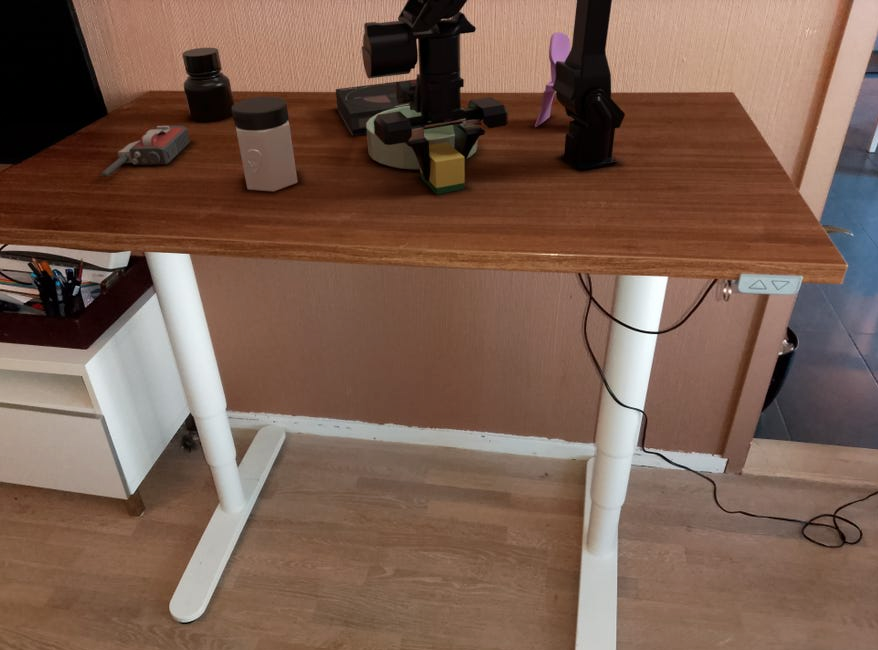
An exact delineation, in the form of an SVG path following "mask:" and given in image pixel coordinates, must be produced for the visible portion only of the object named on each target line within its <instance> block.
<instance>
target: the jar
mask: <svg viewBox="0 0 878 650" xmlns="http://www.w3.org/2000/svg"><path fill="white" fill-rule="evenodd" d="M232 113H233V114H232V121H233V123H234V124H233V125H234V126H235V130H236V136H237V142H238V147H239V148H238V149H239V152H240V159H241V163H242V167H243V168H242V169H243V174H244V180H245V184H246V185H245V186H246V189H247V190H249V191H261V192H272V193H273V192H276V191H279V190H282V189H285V188H288V187H290V186H293V185H296V184H297V183H298V176H297V175H298V174H297V167H296V160H295V153H294V146H293V140H292V133H291V127H290V122H289V112H288V104H287V101H286V100H285V99H284V98H282V97H278V96H256V97H250V98H246V99H243V100H240V101H237V102H236V103H234V105H233V106H232Z"/></svg>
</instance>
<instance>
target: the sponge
mask: <svg viewBox="0 0 878 650" xmlns="http://www.w3.org/2000/svg"><path fill="white" fill-rule="evenodd" d="M429 154H430V178H429V181H426V180H425V178H424V175H423V173H422V170H421V168H420V169H419V172H420V179H421V180H422V181H423V182H424V184H425V185H427V186H428V188H430V190H431V191H432V192H433V193H434V194H435V195H442V194H447V193H452V192H457V191H463V190H465V184H466V183H465V182H466V181H465V177H466V176H465V164H464V156H463V155H462V154H460V153H459V152H458V151H457V150H456V149H455V148H453V147H452V146H451V145H450V144H449V143H448V142H444V143H439V144H433V145H429Z"/></svg>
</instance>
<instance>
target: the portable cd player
mask: <svg viewBox="0 0 878 650" xmlns="http://www.w3.org/2000/svg"><path fill="white" fill-rule="evenodd" d="M409 80H410V81H411V85H412V86H415V85H416V84H417V78H416V79H409ZM400 81H401V80H398V81H392V82H391V81H390V82H382V83H375V84H366V85H359V86H350V87H342V88H335V96H336V97H335V98H336V106H337V107H336V108H337V112H338V113H339V115H340V117H341V119H342V121H343V122H344V124H345V126H346V127H347V129H348V131H349V132H350V134H351V136H352V137H356V136H357V137H358V136H364V135H367V128H366V123H367V122H368V120H369V119H370V118H371V117H373V116H375V115H376V114H378V113H381V112H383V111H386V110H390V109H394V108H398V107H404V106H410V105H409V104H403V105H399V104H398V102H397V96H396V83H397V82H400Z"/></svg>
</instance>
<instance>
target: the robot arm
mask: <svg viewBox="0 0 878 650" xmlns="http://www.w3.org/2000/svg"><path fill="white" fill-rule="evenodd" d="M467 2H468V0H407V1H406V3H405V4H404V6H403V8H402V10H401V12H400V13H399V15H398V17H397V20H394V21H384V22H376V21H371V22H365V23H364V24H363V27H364V33H363V36H362V46H361V55H362V64H363V67H364V72H365V75H366V77H367V79H369V80H370V79H377V78H378V79H379V78H385V77H394V76H400V75H409V74H410V73H411V71H412V70H413V69H415V68H416V65H417V64H418V74H416V79H417V84H416V85H415V86H412V85H411V81H410V80H411V79H408V80H399V81H400V82H398V81H396V82H397V83H396V96H397V102H398V104H399V105H403V104H409V105H410V110H415V111H416V112H417V113H421V116H417V117H410V118H407V117H406V116H404V115H403V114H402V113H401V112H400V111H398V112H392V113H385V114H379V115H377V116H376V118H375V120H374V133H375V135H376V136H377V137H378V138H379V139H380V140H381V141H382V142H383V143H384V144H385V145H393V144H399V143H406V144H407V145H408V146H409V147H412V149H413V151H414V153H415V155H416V157H417V160H418V162H419V165H420V168H421V170H422V173H423V175H424V178H425V180H426V181H429V178H430V154H429V141H428V140H427V139H426V138H425V137H424V129H431V128H437V127H443V126H449V125H453V129H454V134H455V145H454V148H455V149H456V150H457V151H458V152H459V153H460V154H462V155H463V156H464V165H465V163H466V161H467V159H468V158H467V157H468V155H469V153H470V151H471V149H472V148H473V146H474V144H475V143H476V141H477V139H478V140H479V137H481V136H484V135H485V133H486V130H485V129H484V128H483V127H482V123H483V125H484V126H485V127H487V128H488V129H495V128H500V127H506V126H507V125H508V123H509V121H508V120H509V111H508V107H506V106H505V104H503V103H502V102H500V101H499V100H497V99H495V98H493V97H492V96H489V97H481V98H475V99H470V100H469V101H468V104H467V108H463V107H462V99H461V97H462V96H461V94H462V91H461V90H462V89H461V88H464V87H465V79H464V78H462V77H461V71H462V70H461V35H464V34H470V33H472V34H473V33H475V32H476V30H477V28H476V26H475V25H474V24H473V23H471V22H470V21H469V20H468V18H467V17H466V14H465V13H463V12H462V11H461V10H462V9H463V7H464V6H465V5H466V3H467ZM612 2H613V0H576V4H575V13H574V23H573V34H572V43H571V47H570V53H569V55H568V57H567V58H566V60H565V62H561V61H557V62H556V65H555V71H556V78H555V82H554V85H553V87H552V89H554V90H555V91H556V92H555V94H556V95H555V97H556V100H557V101H558V103H560V105H561V106H562V107H564V111H565V113H566V116H568V117H570V118H572V119H573V120H570V121H569V122H568V131H567V132H566V133H565V138H564V139H565V140H564V153H561V155H560V158H561V159H563V160H565V161H566V162H567V163H568V164H571V166H573V167H575V168H576V169H578V170H580V171H585V170H589V169H590V170H591V169H596V168H601V167H607V166H612V165H616V164H617V163H618V159H616V158H615V157H613V149H614V142H615V141H614V140H615V132H616V129H619V128H620V127H621V126H622V123H623V121H624V119H625V116H626V113H625V112H624V111H623V109H621V108H620V107H619V105H618V104H617V103H616V102H615V101H614V100H613V99H612V73H611V69H610V65H609V62H608V58H607V51H606V50H607V49H606V48H607V41H608V33H609V26H610V17H611V11H612ZM462 108H463V109H462ZM428 121H429V122H428ZM430 121H431V122H430Z"/></svg>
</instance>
